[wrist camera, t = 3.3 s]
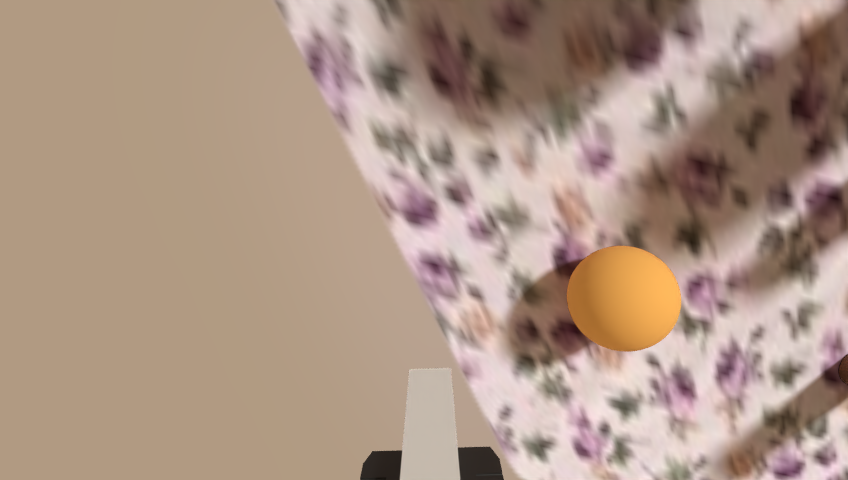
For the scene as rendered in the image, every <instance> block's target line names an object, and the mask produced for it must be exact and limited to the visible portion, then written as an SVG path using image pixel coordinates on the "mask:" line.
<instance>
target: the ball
mask: <svg viewBox="0 0 848 480" xmlns="http://www.w3.org/2000/svg"><path fill="white" fill-rule="evenodd" d="M567 304H568V309H569V312H570V315H571V317H572V319H573V321H574V323H575V324H576V326H577V327H578V329H579V330H580V331H581V332H582V333H583V334H584V335H585V336H586V337H588V338H589V339H590V340H592V341H593V342H595V343H596V344H598V345H600V346H603V347H605V348H608V349H611V350H616V351H637V350H642V349H645V348H648V347H651V346H653V345H655V344H656V343H658V342H660V341H661V340H662V339H664V338H665V337H666V336H667V335H668V334H669V333H670V331H671V330H672V329H673V327H674V326H675V324H676V322H677V319H678V317H679V313H680V309H681V294H680V289H679V286H678V283H677V281H676V278H675V276H674V275H673V273H672V272H671V270H670V269H669V268H668V267H667V265H666V264H665V263H664V262H662V261H661V260H660V259H659V258H657V257H656V256H654V255H653V254H651V253H649V252H647V251H645V250H642V249H639V248H636V247H629V246H612V247H607V248H603V249H600V250H598V251H596V252H594V253H592V254H590V255H589V256H587V257H586V258H585V259H584V260H582V261H581V262H580V263H579V265H578V266H577V267H576V268H575V270H574V271H573V273H572V275H571V277H570V280H569V283H568V288H567Z"/></svg>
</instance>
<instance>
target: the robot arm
mask: <svg viewBox="0 0 848 480" xmlns="http://www.w3.org/2000/svg"><path fill="white" fill-rule="evenodd" d="M454 411H455V410H454V399H453V386H452V374H451V368H434V369H410V370H409V381H408V392H407V404H406V415H405V426H404V438H403V449H402V451H372V453H371V454H370V455H369V457H368V458H367V459H366V461H365V462H364V463H363V468H362V472H361V477H360V480H504V479H503V475H502V469H501V464H500V459H499V458H498V456H497V455H496V454H495V453H494V451H493V450H492V449H491V448H490V447H465V448H458V447H457V435H456V423H455V412H454Z"/></svg>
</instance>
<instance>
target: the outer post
mask: <svg viewBox="0 0 848 480" xmlns="http://www.w3.org/2000/svg"><path fill="white" fill-rule="evenodd" d="M839 376H840V378H841V380H842V381H843V382H844V383H846V384H847V385H848V355H847V356H846V357H845V358H844V359H843V360H842V362H841V364H840V367H839Z"/></svg>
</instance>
